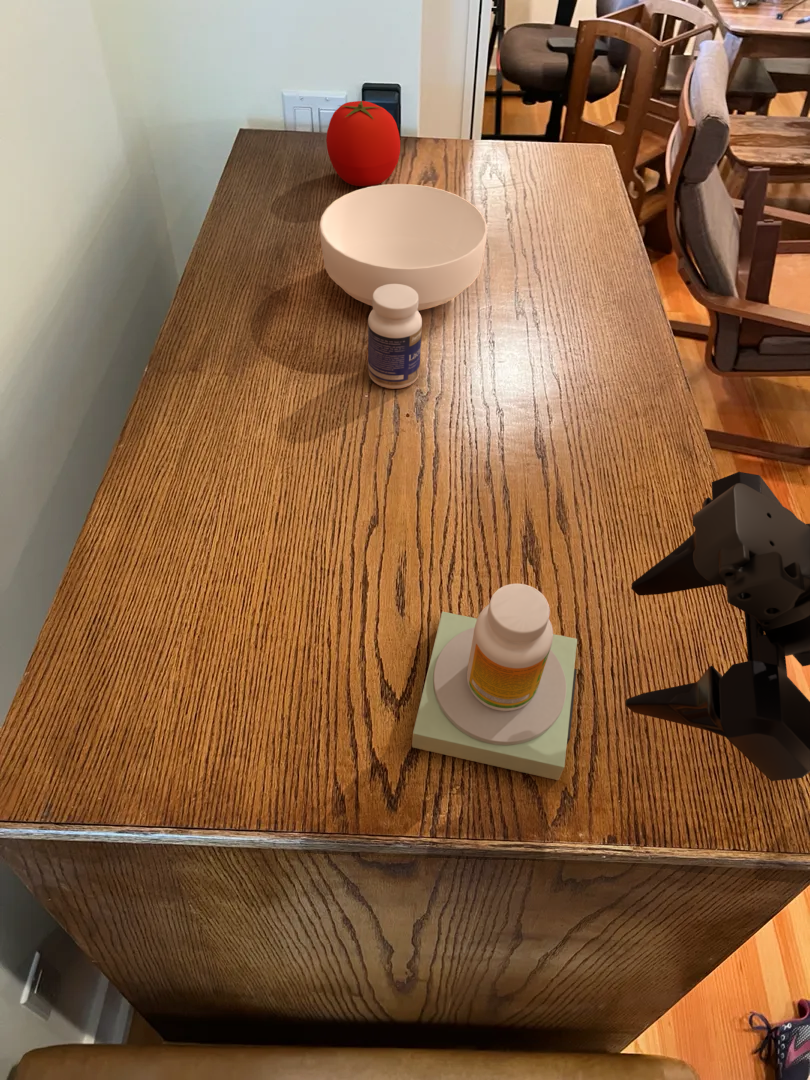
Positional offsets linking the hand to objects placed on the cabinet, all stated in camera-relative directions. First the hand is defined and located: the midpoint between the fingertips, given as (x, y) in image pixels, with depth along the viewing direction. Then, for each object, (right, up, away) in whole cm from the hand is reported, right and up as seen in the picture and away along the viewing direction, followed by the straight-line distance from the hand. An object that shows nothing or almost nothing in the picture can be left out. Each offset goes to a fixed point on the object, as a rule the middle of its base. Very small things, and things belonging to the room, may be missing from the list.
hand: (631, 644), depth 51 cm
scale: (-8, -6, +9) cm, 13 cm away
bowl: (-15, +39, +46) cm, 62 cm away
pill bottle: (-16, +25, +35) cm, 46 cm away
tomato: (-21, +60, +63) cm, 90 cm away
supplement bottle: (-8, -4, +7) cm, 11 cm away
